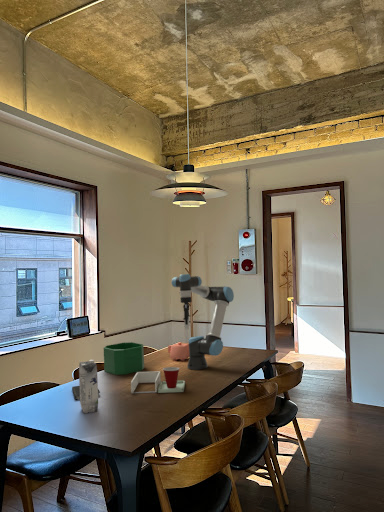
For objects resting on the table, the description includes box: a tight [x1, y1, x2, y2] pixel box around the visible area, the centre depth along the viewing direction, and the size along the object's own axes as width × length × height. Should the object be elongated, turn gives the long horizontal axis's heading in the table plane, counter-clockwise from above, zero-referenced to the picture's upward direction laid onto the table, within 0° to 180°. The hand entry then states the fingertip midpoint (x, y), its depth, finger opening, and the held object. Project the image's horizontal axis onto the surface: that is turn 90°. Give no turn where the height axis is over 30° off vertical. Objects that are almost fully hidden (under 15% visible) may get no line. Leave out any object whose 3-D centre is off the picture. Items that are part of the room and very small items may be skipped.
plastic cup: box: [162, 366, 180, 388], centre depth 251 cm, size 11×11×12 cm
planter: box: [103, 341, 145, 376], centre depth 304 cm, size 26×26×18 cm
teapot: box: [167, 341, 189, 362], centre depth 329 cm, size 22×13×14 cm, turn 72°
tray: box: [157, 380, 186, 394], centre depth 250 cm, size 18×16×2 cm
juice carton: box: [78, 359, 99, 414], centre depth 217 cm, size 9×10×27 cm
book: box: [71, 385, 101, 401], centre depth 247 cm, size 22×15×3 cm
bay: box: [130, 370, 162, 395], centre depth 254 cm, size 23×16×7 cm
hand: (187, 327), depth 271 cm, fingers open, 13 cm apart
